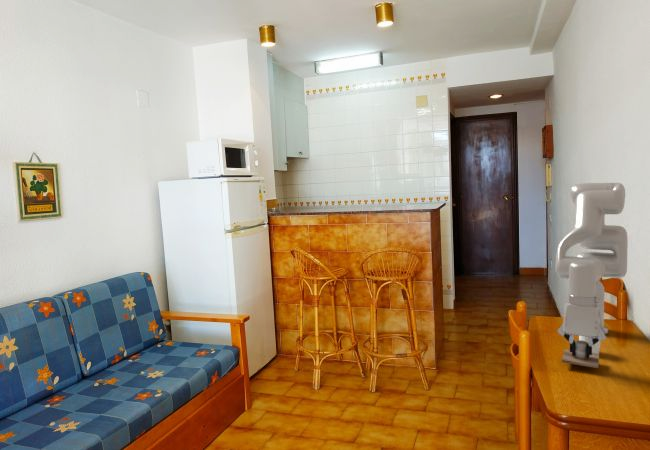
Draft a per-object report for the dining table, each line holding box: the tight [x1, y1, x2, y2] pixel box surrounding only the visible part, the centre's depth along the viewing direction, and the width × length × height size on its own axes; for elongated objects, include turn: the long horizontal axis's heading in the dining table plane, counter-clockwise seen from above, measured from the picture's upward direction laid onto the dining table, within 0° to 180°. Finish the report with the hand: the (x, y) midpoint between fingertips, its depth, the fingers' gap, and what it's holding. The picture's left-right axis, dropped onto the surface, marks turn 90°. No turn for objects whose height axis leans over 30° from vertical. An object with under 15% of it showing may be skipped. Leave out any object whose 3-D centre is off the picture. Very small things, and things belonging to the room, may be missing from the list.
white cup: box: [578, 335, 602, 355], centre depth 158 cm, size 7×7×7 cm
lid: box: [561, 339, 600, 369], centre depth 147 cm, size 10×10×6 cm
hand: (580, 355), depth 147 cm, fingers closed on lid, 3 cm apart
